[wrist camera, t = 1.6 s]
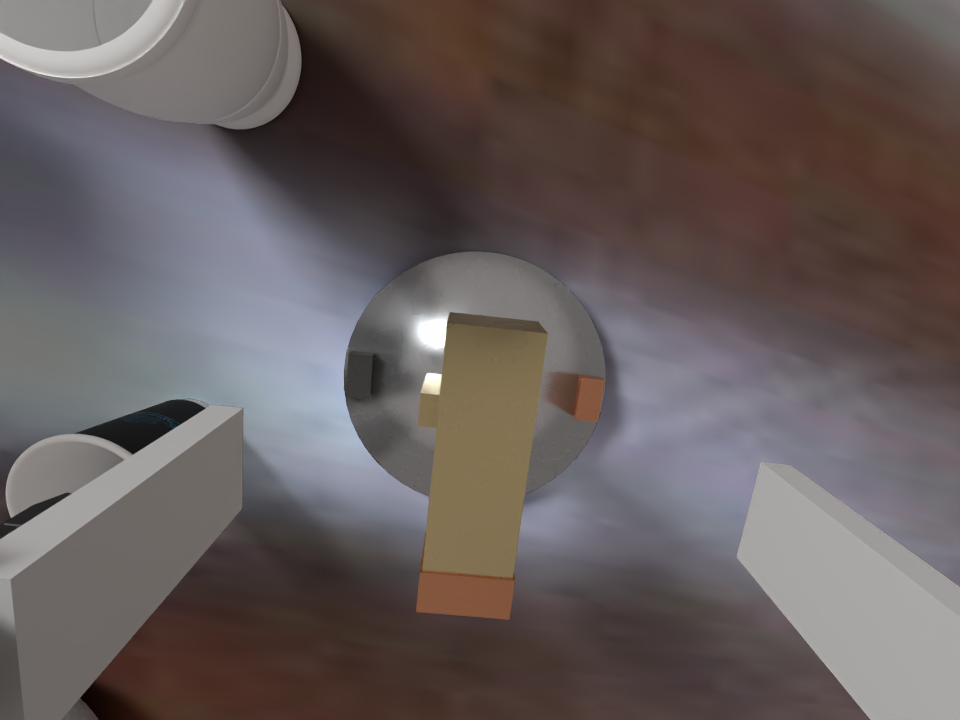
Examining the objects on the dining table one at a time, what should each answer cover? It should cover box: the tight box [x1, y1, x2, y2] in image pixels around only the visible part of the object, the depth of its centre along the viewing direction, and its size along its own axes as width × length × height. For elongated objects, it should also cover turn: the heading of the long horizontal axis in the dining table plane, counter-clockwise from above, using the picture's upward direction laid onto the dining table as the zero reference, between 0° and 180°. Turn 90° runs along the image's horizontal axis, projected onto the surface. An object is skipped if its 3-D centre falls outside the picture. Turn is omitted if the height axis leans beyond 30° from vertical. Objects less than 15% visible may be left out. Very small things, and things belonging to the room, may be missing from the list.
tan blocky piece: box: [416, 312, 548, 619], centre depth 28 cm, size 7×13×13 cm, turn 174°
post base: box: [344, 251, 606, 496], centre depth 33 cm, size 18×18×8 cm
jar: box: [0, 0, 301, 129], centre depth 25 cm, size 11×10×15 cm
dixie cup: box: [6, 399, 209, 518], centre depth 32 cm, size 8×8×11 cm
